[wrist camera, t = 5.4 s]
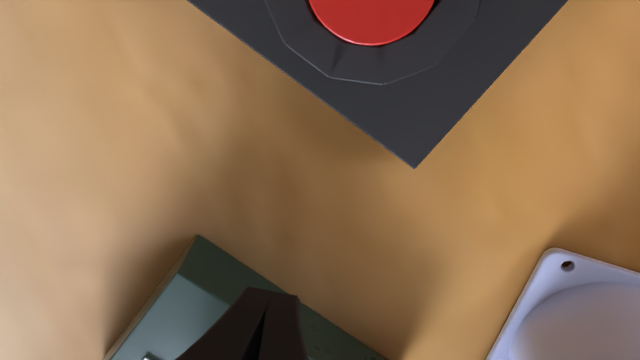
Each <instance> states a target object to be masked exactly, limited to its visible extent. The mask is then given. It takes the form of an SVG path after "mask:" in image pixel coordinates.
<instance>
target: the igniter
mask: <svg viewBox="0 0 640 360" xmlns="http://www.w3.org/2000/svg"><path fill="white" fill-rule="evenodd" d="M187 1H189V2H190V3H191V4H193V5H194V6H195V7H197V8H198V9H199V10H201V11H202V12H203V13H205V14H206V15H207V16H209V17H210V18H211V19H213V20H214V21H215V22H217V23H218V24H219V25H221V26H222V27H224V28H225V29H226V30H228V31H229V32H230V33H232V34H233V35H234V36H236V37H237V38H238V39H240V40H241V41H242V42H244V43H245V44H246V45H248V46H249V47H250V48H252V49H253V50H254V51H256V52H257V53H258V54H260V55H261V56H262V57H264V58H265V59H266V60H268V61H269V62H271V63H272V64H273V65H275V66H276V67H277V68H279V69H280V70H281V71H283V72H284V73H285V74H287V75H288V76H289V77H291V78H292V79H293V80H295V81H296V82H297V83H299V84H300V85H301V86H303V87H304V88H305V89H307V90H308V91H309V92H311V93H312V94H313V95H315V96H316V97H318V98H319V99H320V100H322V101H323V102H324V103H326V104H327V105H328V106H330V107H331V108H332V109H334V110H335V111H336V112H338V113H339V114H340V115H342V116H343V117H344V118H346V119H347V120H348V121H350V122H351V123H352V124H354V125H355V126H356V127H358V128H359V129H361V130H362V131H363V132H365V133H366V134H367V135H369V136H370V137H371V138H373V139H374V140H375V141H377V142H378V143H379V144H381V145H382V146H383V147H385V148H386V149H387V150H389V151H390V152H391V153H393V154H394V155H395V156H397V157H398V158H399V159H401V160H402V161H403V162H405V163H406V164H408V165H409V166H410V167H412V168H413V169H415V168H416V167H417V166H418V165H419V164H420V163H421V162H422V160H423V159H424V158H425V157H426V156H427V155H428V154H429V153H430V152H431V151H432V149H433V148H434V147H435V146H436V145H437V144H438V143H439V142H440V141H441V140H442V138H443V137H444V136H445V135H446V134H447V133H448V132H449V131H450V130H451V129H452V127H453V126H454V125H455V124H456V123H457V122H458V121H459V120H460V119H461V118H462V116H463V115H464V114H465V113H466V112H467V111H468V110H469V109H470V108H471V107H472V105H473V104H474V103H475V102H476V101H477V100H478V99H479V98H480V97H481V96H482V94H483V93H484V92H485V91H486V90H487V89H488V88H489V87H490V86H491V85H492V83H493V82H494V81H495V80H496V79H497V78H498V77H499V76H500V75H501V73H502V72H503V71H504V70H505V69H506V68H507V67H508V66H509V65H510V64H511V62H512V61H513V60H514V59H515V58H516V57H517V56H518V55H519V54H520V53H521V51H522V50H523V49H524V48H525V47H526V46H527V45H528V44H529V43H530V42H531V40H532V39H533V38H534V37H535V36H536V35H537V34H538V33H539V32H540V31H541V29H542V28H543V27H544V26H545V25H546V24H547V23H548V22H549V21H550V20H551V18H552V17H553V16H554V15H555V14H556V13H557V12H558V11H559V10H560V9H561V7H562V6H563V5H564V4H565V3H566V2H567V1H568V0H434V2H433V5H432V7H431V9H430V10H429V12H428V14H427V15H426V17H425V18H424V19H423V21H422V22H421V23H420V24H419V25H418V26H417V27H416V28H415V29H413V30H412V31H411V32H410V33H408V34H407V35H405V36H404V37H402V38H400V39H398V40H396V41H393V42H390V43H387V44H382V45H372V46H368V45H359V44H354V43H351V42H348V41H345V40H343V39H341V38H339V37H338V36H336V35H335V34H333V33H332V32H330V31H329V30H328V29H327V28H326V27H325V26H324V25H323V24H322V23H321V22H320V20H319V19H318V18H317V16H316V15H315V13H314V11H313V9H312V7H311V5H310V2H309V0H187Z"/></svg>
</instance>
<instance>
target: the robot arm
mask: <svg viewBox="0 0 640 360" xmlns="http://www.w3.org/2000/svg"><path fill="white" fill-rule="evenodd" d="M565 261H572V262H571V264H570V265H569V266H566V267H562V266H561V265H562V263H563V262H565ZM175 360H308V356H307V352H306V348H305V344H304V339H303V334H302V328H301V321H300V299H299V298H298V297H297V296H296V295H291V294H286V293H280V292H275V291H270V290H265V289H260V288H255V287H250V286H248V287H246V288H244V289H243V290H242V291H241V293H240V294H239V296H238V297H237V298H236V300H235V301H234V302H233V303H232V305H231V306H230V307H229V308H228V309H227V310H226V311H225V313H224V314H223V315H222V316H221V317H220V318H219V319H218V320H217V321H216V322H215V323H214V324H213V325H212V326H211V327H210V328H209V329H208V330H207V331H206V332H205V333H204V334H203V335H202V336H201V337H200V338H199V339H198V340H197V341H196V342H195V343H193V344H192V345H191V346H190V347H189V348H188V349H187V350H186V351H185V352H183V353H182V354H181V355H180V356H179V357H177V358H176V359H175ZM486 360H640V273H638V272H635V271H632V270H629V269H625V268H622V267H619V266H616V265H613V264H609V263H606V262H603V261H600V260H596V259H593V258H590V257H587V256H583V255H580V254H577V253H574V252H570V251H567V250H564V249H561V248H555V247H554V248H549V249H548V250H546V251H545V252H544V253H543V254H542V256H541V258H540V259H539V261H538V263H537V265H536V267H535V269H534V271H533V272H532V274H531V276H530V278H529V280H528V282H527V284H526V285H525V287H524V289H523V291H522V293H521V295H520V297H519V298H518V300H517V302H516V304H515V306H514V308H513V310H512V311H511V313H510V315H509V317H508V319H507V321H506V323H505V324H504V326H503V328H502V330H501V332H500V334H499V336H498V338H497V339H496V341H495V343H494V345H493V347H492V349H491V351H490V352H489V354H488V356H487V358H486Z"/></svg>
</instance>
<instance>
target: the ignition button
mask: <svg viewBox="0 0 640 360" xmlns="http://www.w3.org/2000/svg"><path fill="white" fill-rule="evenodd" d="M309 2H310V5H311V7H312V9H313V11H314V13H315V15H316V16H317V18H318V19H319V20H320V22H321V23H322V24H323V25H324V26H325V27H326V28H327V29H328V30H329V31H330V32H332V33H333V34H335V35H336V36H338V37H339V38H341V39H343V40H345V41H348V42H351V43H354V44H359V45H368V46H372V45H382V44H387V43H390V42H393V41H396V40H398V39H400V38H402V37H404V36H405V35H407V34H408V33H410V32H411V31H412V30H413V29H415V28H416V27H417V26H418V25H419V24H420V23H421V22H422V21H423V19H424V18H425V17H426V15H427V14H428V12H429V10H430V9H431V7H432V5H433V2H434V0H309Z"/></svg>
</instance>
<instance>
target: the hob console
mask: <svg viewBox="0 0 640 360" xmlns="http://www.w3.org/2000/svg"><path fill="white" fill-rule="evenodd" d="M248 286H250V287H255V288H260V289H265V290H270V291H275V292H280V293H286V292H285V291H283V290H282V289H280V288H279V287H277V286H276V285H274V284H273V283H271V282H270V281H268V280H267V279H265V278H264V277H262V276H261V275H259V274H258V273H256V272H255V271H253V270H252V269H250V268H249V267H247V266H246V265H244V264H243V263H241V262H240V261H238V260H237V259H235V258H234V257H232V256H231V255H229V254H228V253H226V252H225V251H223V250H222V249H220V248H219V247H217V246H216V245H214V244H213V243H211V242H210V241H208V240H207V239H205V238H204V237H202V236H201V235H197V236H196V237H195V238H194V240H193V241H192V242H191V244H190V245H189V246H188V248H187V249H186V250H185V251H184V253H183V254H182V255H181V257H180V258H179V259H178V261H177V262H176V263H175V265H174V266H173V267H172V269H171V270H170V271H169V272H168V274H167V275H166V276H165V278H164V279H163V280H162V282H161V283H160V284H159V286H158V287H157V288H156V290H155V291H154V292H153V293H152V295H151V296H150V297H149V299H148V300H147V301H146V303H145V304H144V305H143V307H142V308H141V309H140V310H139V312H138V313H137V314H136V316H135V317H134V318H133V320H132V321H131V322H130V324H129V325H128V326H127V328H126V329H125V330H124V331H123V333H122V334H121V335H120V337H119V338H118V339H117V341H116V342H115V343H114V345H113V346H112V347H111V349H110V350H109V351H108V352H107V354H106V355H105V356H104V358H103V359H102V360H175V359H176V358H177V357H179V356H180V355H181V354H182V353H183V352H185V351H186V350H187V349H188V348H189V347H190V346H191V345H192V344H193V343H195V342H196V341H197V340H198V339H199V338H200V337H201V336H202V335H203V334H204V333H205V332H206V331H207V330H208V329H209V328H210V327H211V326H212V325H213V324H214V323H215V322H216V321H217V320H218V319H219V318H220V317H221V316H222V315H223V314H224V313H225V311H226V310H227V309H228V308H229V307H230V306H231V305H232V303H233V302H234V301H235V300H236V298H237V297H238V296H239V294H240V293H241V291H242V290H243V289H244V288H246V287H248ZM286 294H288V293H286ZM300 321H301V328H302V334H303V339H304V344H305V348H306V352H307V356H308V360H387V359H386V358H384V357H383V356H381V355H380V354H378V353H377V352H375V351H374V350H372V349H371V348H369V347H368V346H366V345H365V344H363V343H362V342H360V341H359V340H357V339H356V338H354V337H353V336H351V335H350V334H348V333H347V332H345V331H344V330H342V329H341V328H339V327H338V326H336V325H335V324H333V323H332V322H330V321H329V320H327V319H326V318H324V317H322V316H321V315H319V314H318V313H316V312H315V311H313V310H312V309H310V308H309V307H307V306H306V305H304V304H303V303H301V302H300Z"/></svg>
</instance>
